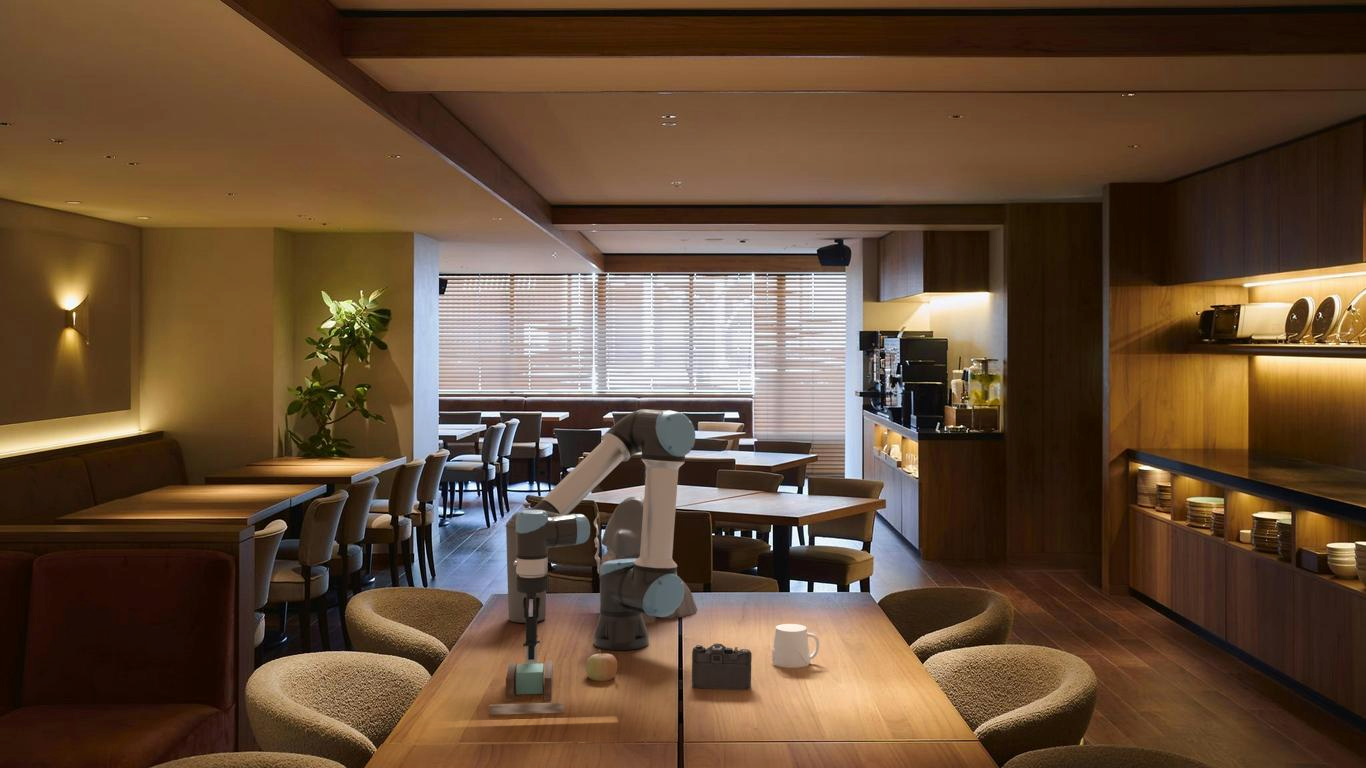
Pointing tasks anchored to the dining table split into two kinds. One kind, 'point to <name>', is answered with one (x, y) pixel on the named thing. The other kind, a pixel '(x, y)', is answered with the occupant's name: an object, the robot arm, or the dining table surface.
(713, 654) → the camera
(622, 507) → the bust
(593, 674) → the fruit
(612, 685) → the dining table surface
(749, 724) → the dining table surface
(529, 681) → the block
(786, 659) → the mug
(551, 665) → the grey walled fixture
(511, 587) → the canister
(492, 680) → the dining table surface
